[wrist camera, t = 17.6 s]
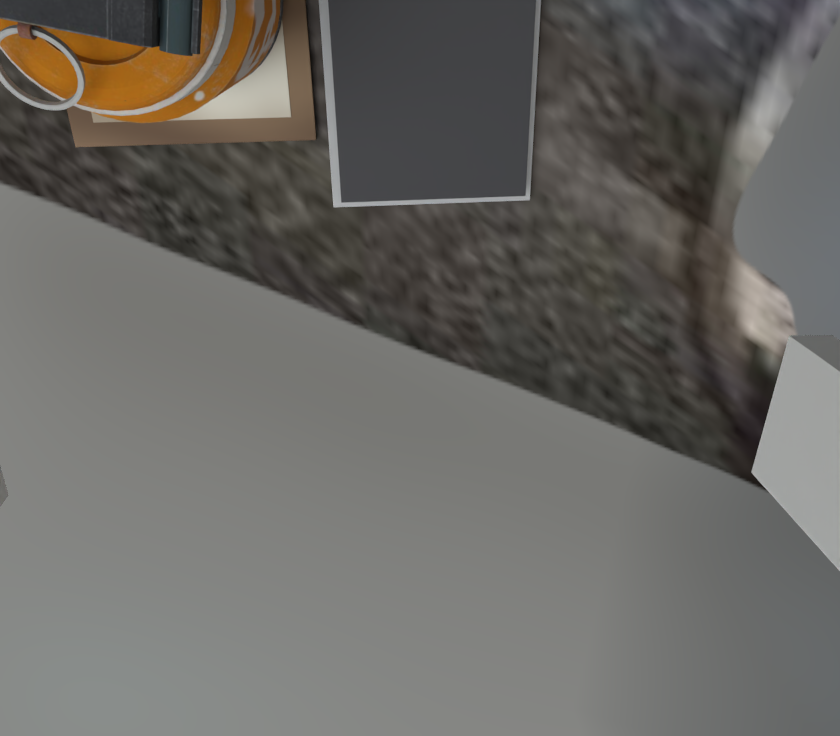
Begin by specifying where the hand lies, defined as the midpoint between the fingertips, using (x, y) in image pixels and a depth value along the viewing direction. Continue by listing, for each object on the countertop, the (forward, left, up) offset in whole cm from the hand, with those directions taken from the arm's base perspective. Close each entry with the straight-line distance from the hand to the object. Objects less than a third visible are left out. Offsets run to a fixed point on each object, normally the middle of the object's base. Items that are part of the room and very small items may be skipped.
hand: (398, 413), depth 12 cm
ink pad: (-2, +4, -32) cm, 32 cm away
